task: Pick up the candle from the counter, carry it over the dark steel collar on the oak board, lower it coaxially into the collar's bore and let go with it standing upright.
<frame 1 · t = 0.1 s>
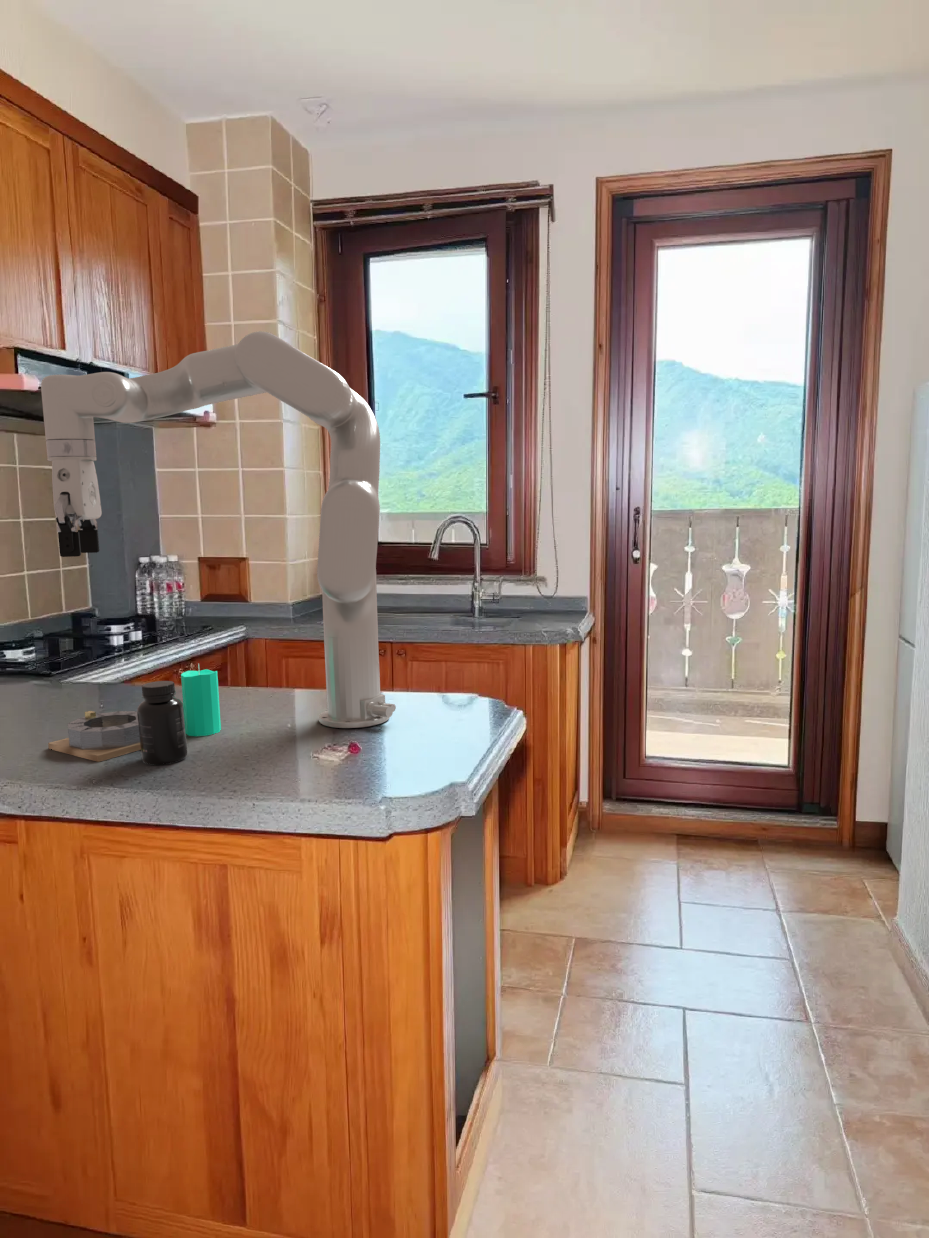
hand: (80, 554, 149), 31 cm above the counter, tool pointing down, fingers open, 9 cm apart
steel collar: (110, 727, 145), on the oak board, point 3 cm above the counter
supplement bottle: (164, 760, 136), on the counter
oak board: (112, 744, 145), on the counter
candle: (203, 732, 152), on the counter
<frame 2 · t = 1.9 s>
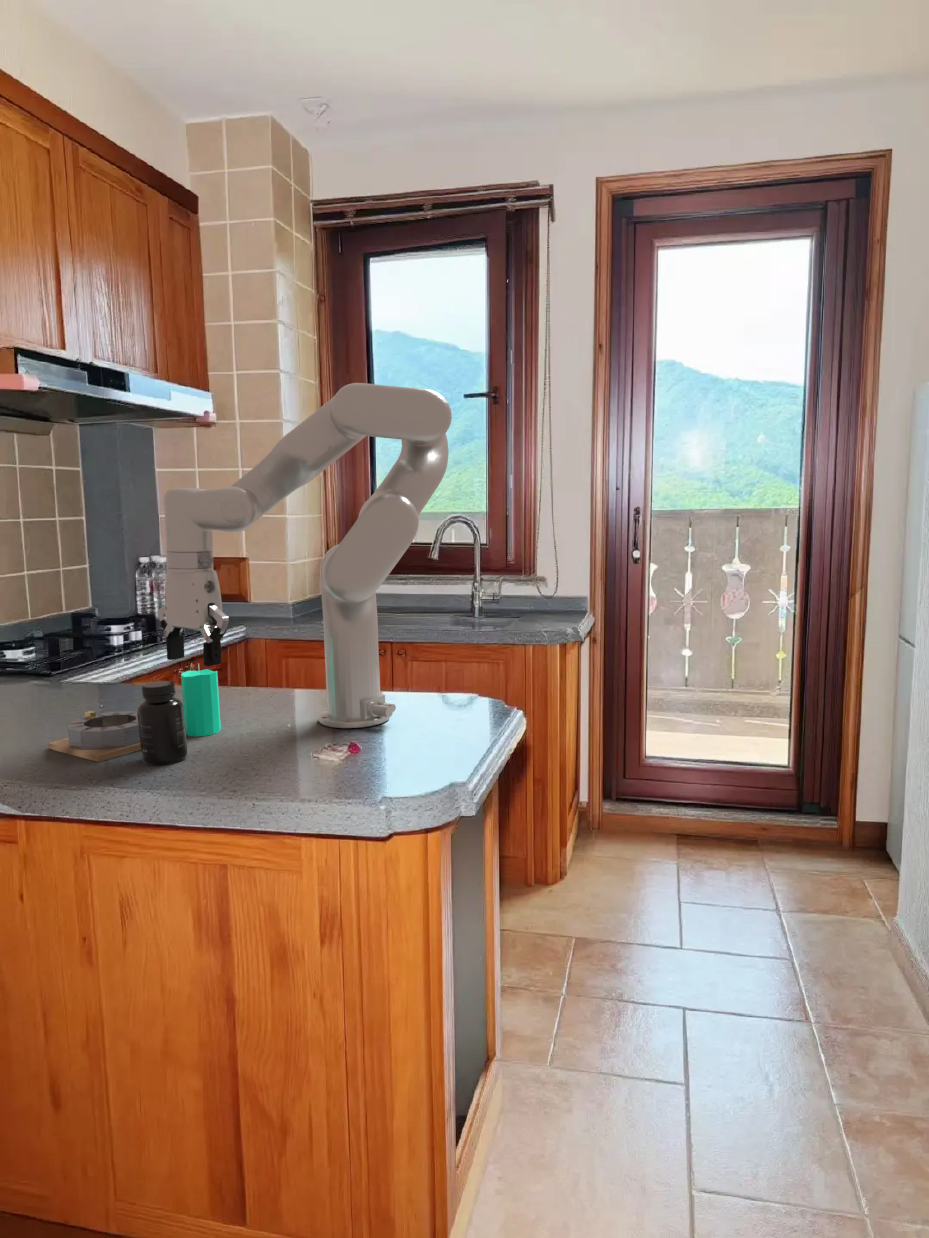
hand: (194, 661, 150), 12 cm above the counter, tool pointing down, fingers open, 9 cm apart
nothing on the counter moved.
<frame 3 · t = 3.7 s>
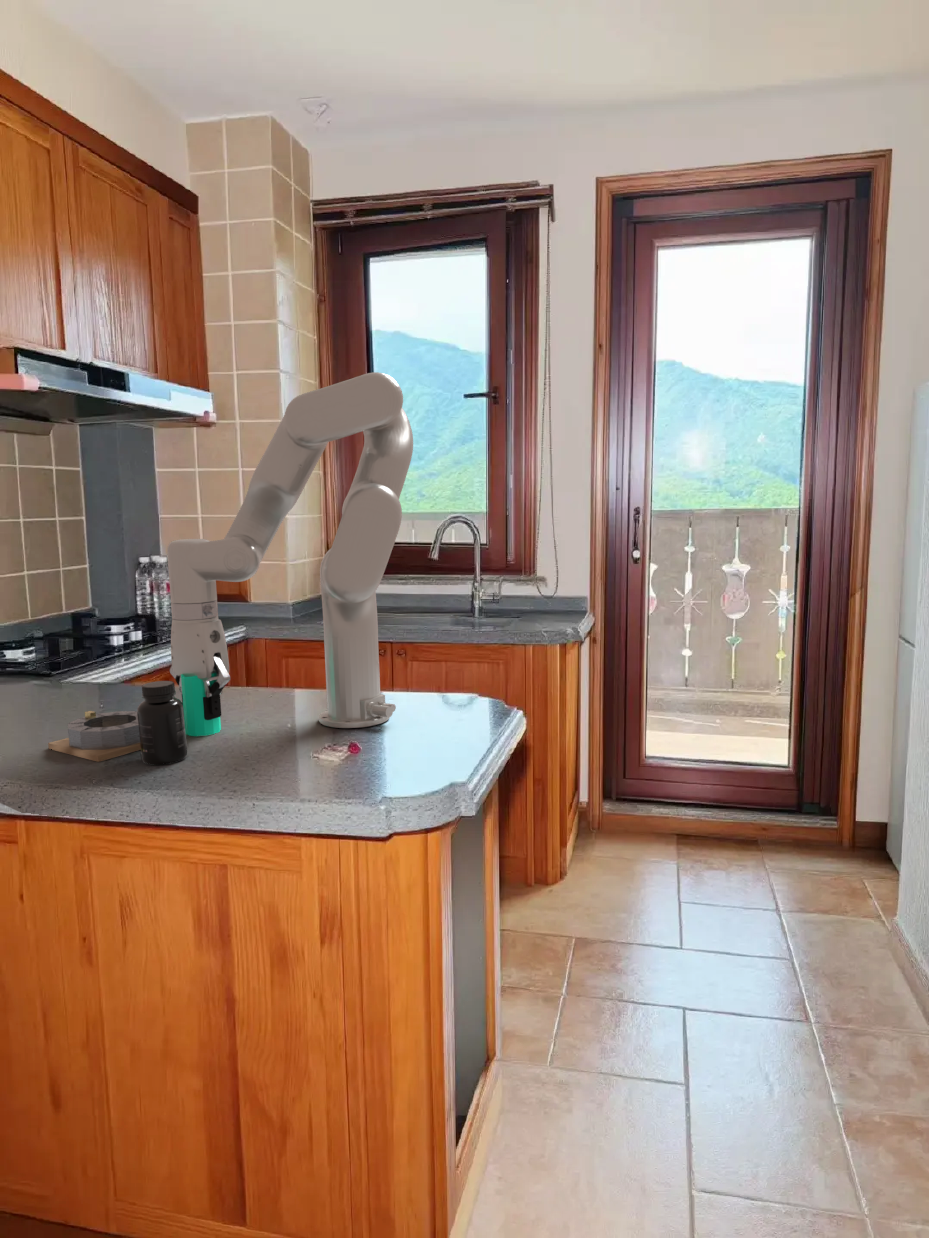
hand: (202, 715, 152), 3 cm above the counter, tool pointing down, fingers closed on candle, 4 cm apart
candle: (203, 732, 152), on the counter, touching gripper
everything else where it was.
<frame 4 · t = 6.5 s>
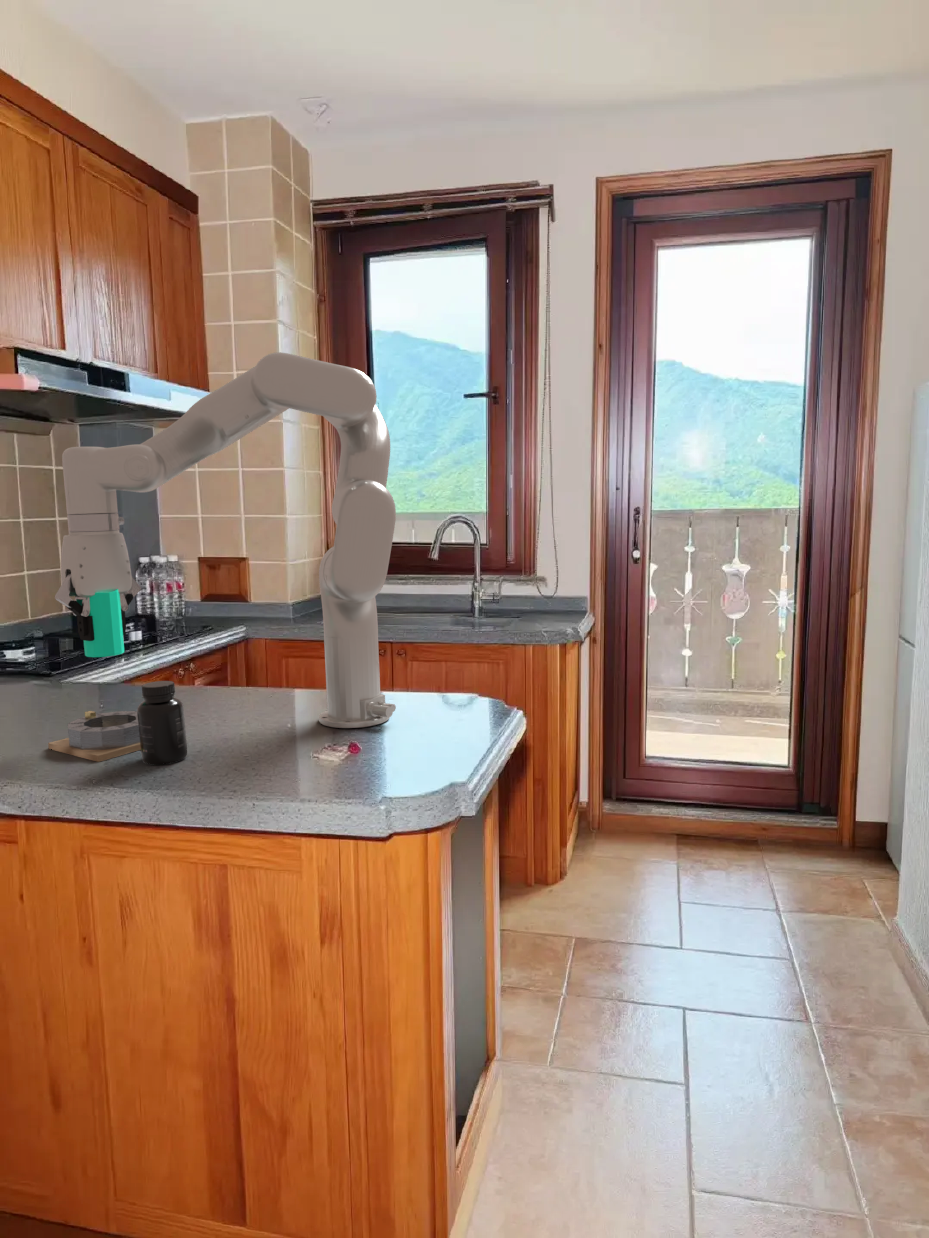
hand: (103, 636, 143), 18 cm above the counter, tool pointing down, fingers closed on candle, 4 cm apart
candle: (104, 654, 143), point 15 cm above the counter, touching gripper
everything else where it was.
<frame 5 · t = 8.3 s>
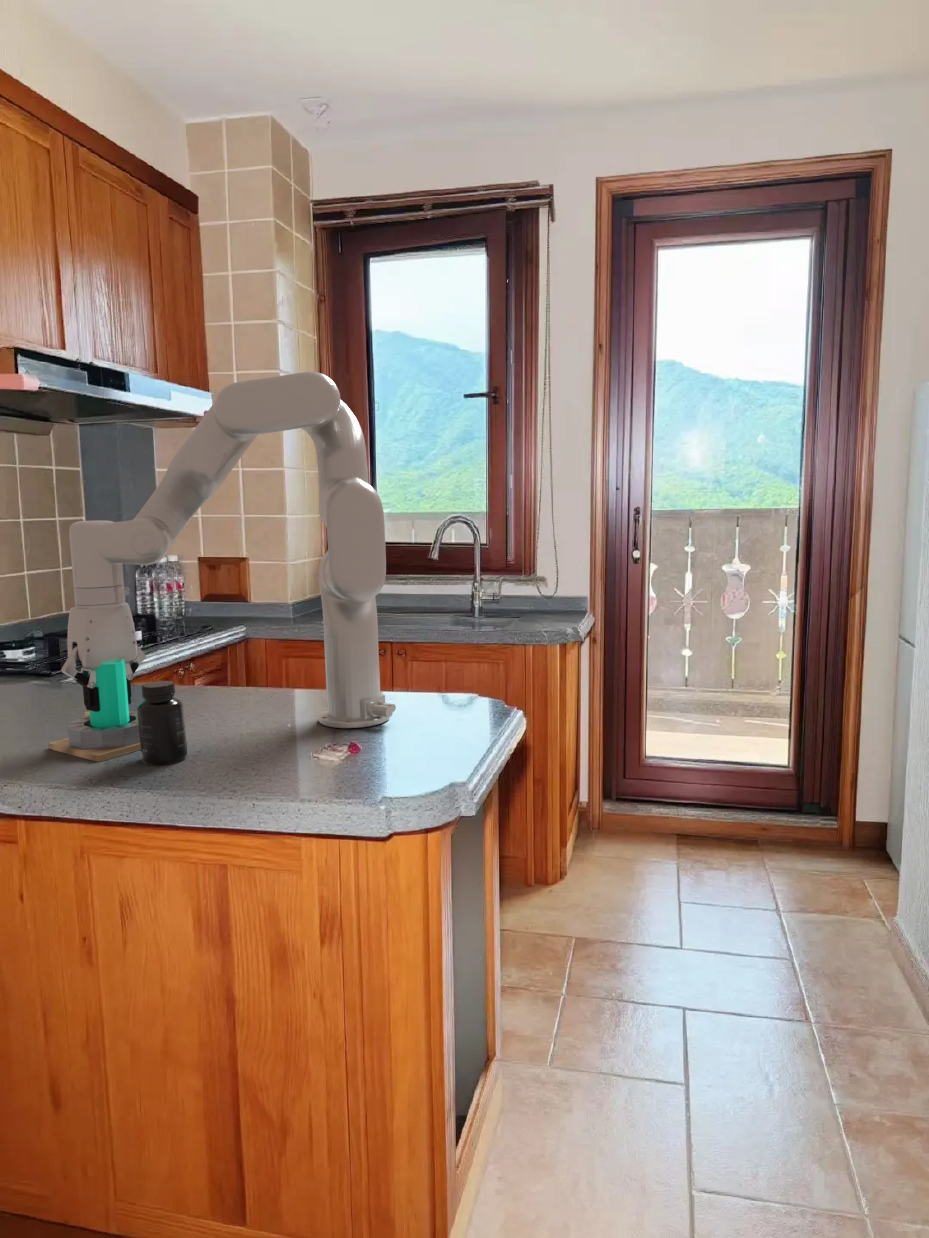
hand: (108, 705, 144), 7 cm above the counter, tool pointing down, fingers closed on candle, 4 cm apart
candle: (110, 723, 145), point 4 cm above the counter, touching gripper
everything else where it was.
when the fingers open (5 cm above the counter, at t = 9.6 s): candle stays where it is, resting on oak board.
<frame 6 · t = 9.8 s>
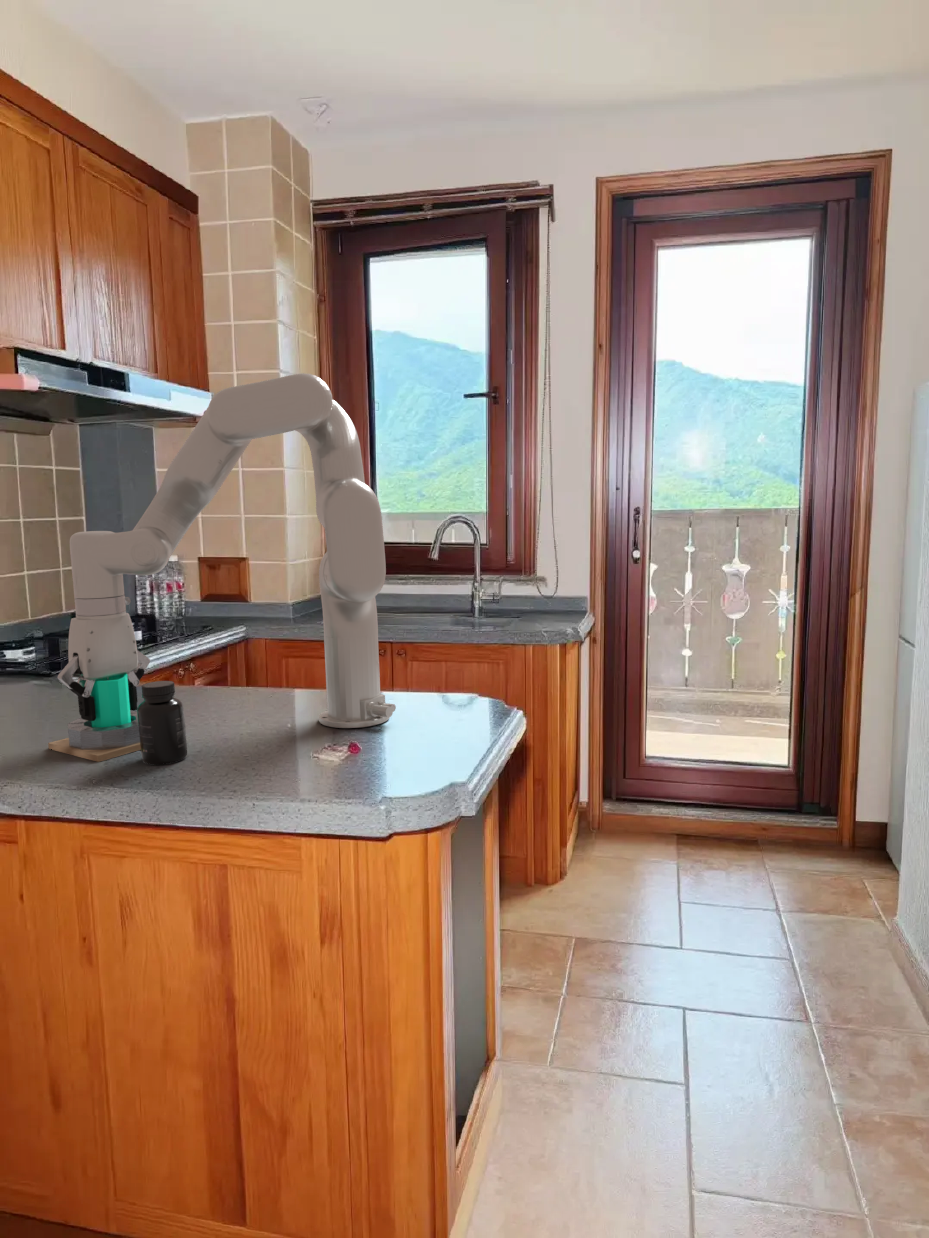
hand: (109, 713, 145), 5 cm above the counter, tool pointing down, fingers open, 7 cm apart
candle: (113, 739, 145), point 1 cm above the counter, touching oak board
everything else where it was.
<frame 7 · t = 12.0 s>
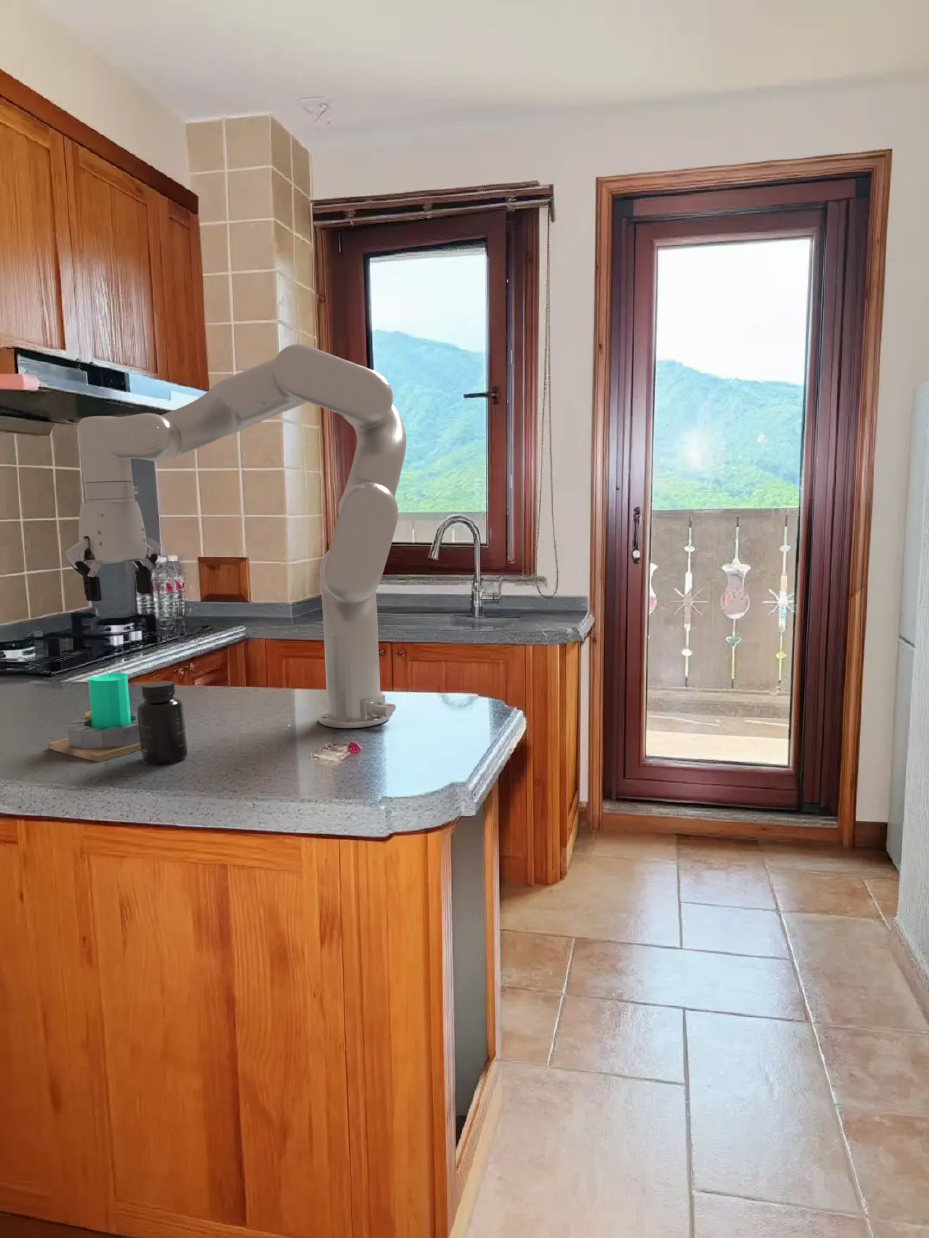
hand: (120, 597, 146), 24 cm above the counter, tool pointing down, fingers open, 9 cm apart
nothing on the counter moved.
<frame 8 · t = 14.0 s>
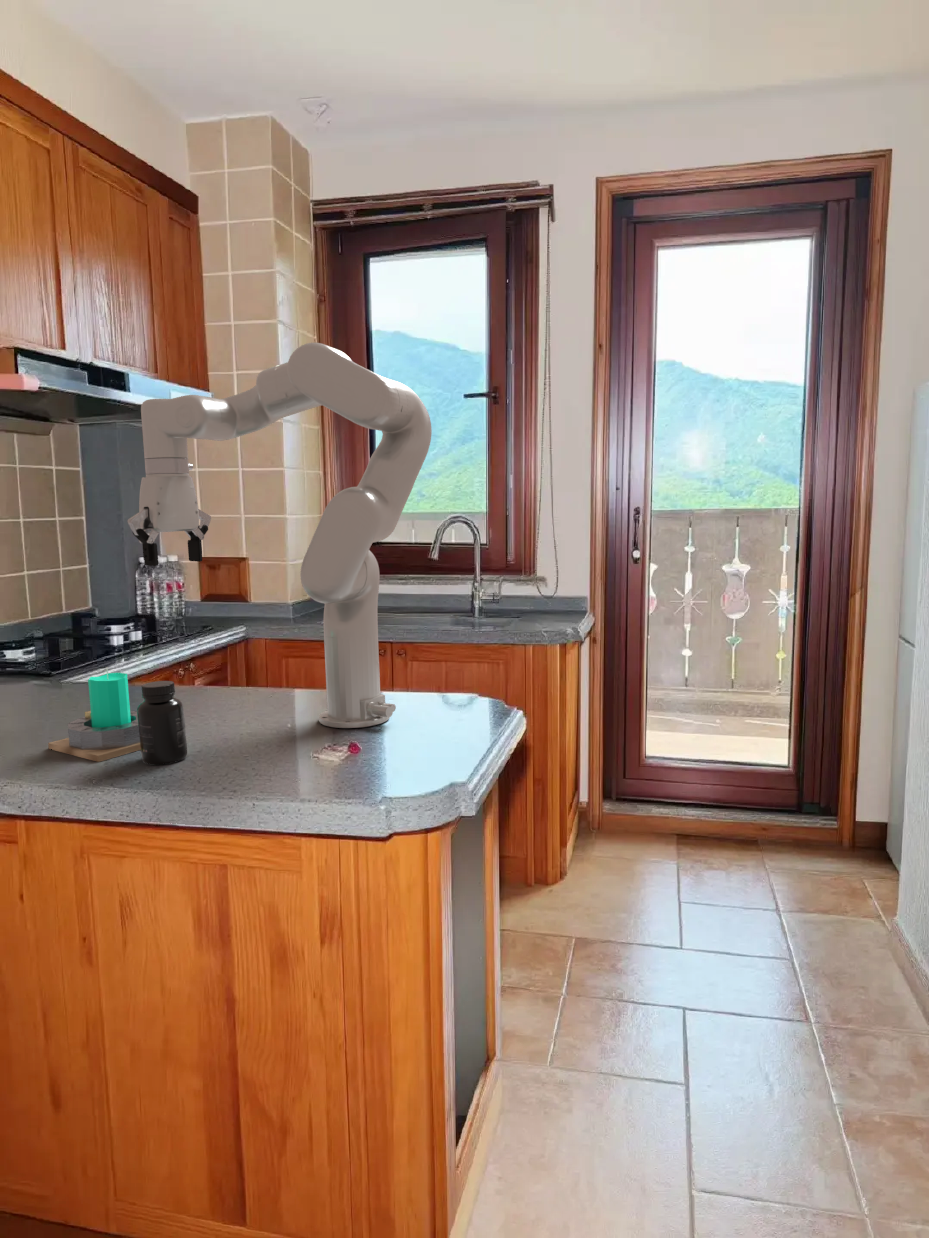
hand: (174, 563, 162), 28 cm above the counter, tool pointing down, fingers open, 9 cm apart
nothing on the counter moved.
at the end: candle 0.2 cm from the steel collar (horizontally); candle point 0.8 cm above the counter; candle tilted 0° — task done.
